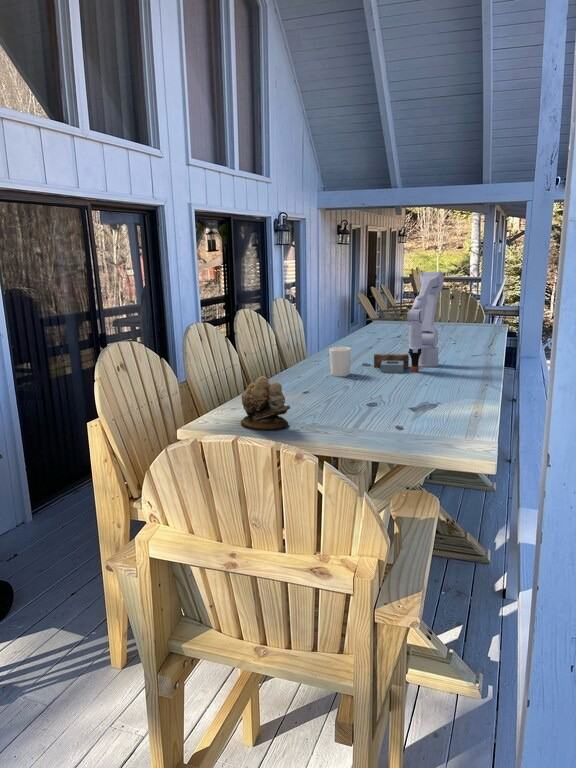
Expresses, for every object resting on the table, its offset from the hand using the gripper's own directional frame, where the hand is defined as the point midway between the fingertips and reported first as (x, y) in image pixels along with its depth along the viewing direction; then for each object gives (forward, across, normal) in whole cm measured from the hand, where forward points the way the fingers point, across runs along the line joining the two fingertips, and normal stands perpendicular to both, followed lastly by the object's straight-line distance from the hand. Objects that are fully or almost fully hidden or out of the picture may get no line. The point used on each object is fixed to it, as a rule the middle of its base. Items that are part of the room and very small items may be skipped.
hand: (414, 365), depth 248 cm
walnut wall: (+3, -9, -11) cm, 15 cm away
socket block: (+3, -2, -10) cm, 11 cm away
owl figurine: (+3, +82, -48) cm, 95 cm away
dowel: (+3, 0, 0) cm, 3 cm away
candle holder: (+3, +8, -33) cm, 34 cm away
